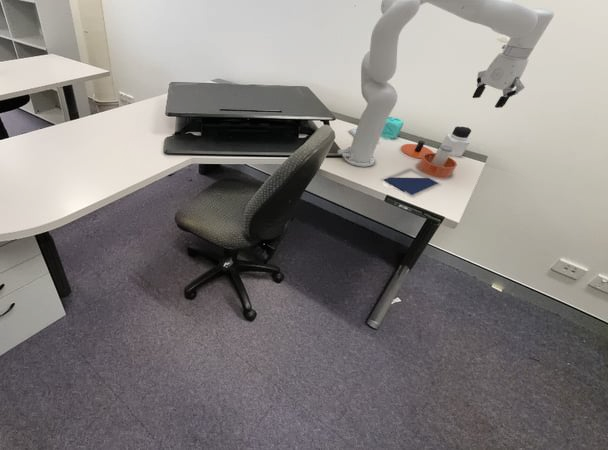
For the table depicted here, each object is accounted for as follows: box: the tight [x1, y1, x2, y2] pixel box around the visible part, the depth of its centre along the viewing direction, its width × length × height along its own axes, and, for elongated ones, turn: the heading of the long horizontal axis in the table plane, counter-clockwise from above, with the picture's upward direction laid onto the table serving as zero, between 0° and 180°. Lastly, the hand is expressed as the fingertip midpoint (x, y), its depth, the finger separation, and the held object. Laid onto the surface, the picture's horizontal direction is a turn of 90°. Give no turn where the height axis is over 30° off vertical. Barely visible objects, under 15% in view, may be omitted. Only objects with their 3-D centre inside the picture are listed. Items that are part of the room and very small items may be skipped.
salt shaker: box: [431, 144, 452, 167], centre depth 133 cm, size 5×5×10 cm
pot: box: [417, 152, 458, 179], centre depth 135 cm, size 12×12×5 cm
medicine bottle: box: [440, 125, 472, 157], centre depth 145 cm, size 7×7×12 cm
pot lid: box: [400, 140, 434, 160], centre depth 146 cm, size 13×13×6 cm
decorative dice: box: [380, 116, 404, 140], centre depth 158 cm, size 8×8×8 cm
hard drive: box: [349, 128, 357, 137], centre depth 158 cm, size 2×8×12 cm
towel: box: [384, 176, 439, 196], centre depth 129 cm, size 17×12×1 cm
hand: (486, 102), depth 123 cm, fingers open, 9 cm apart
